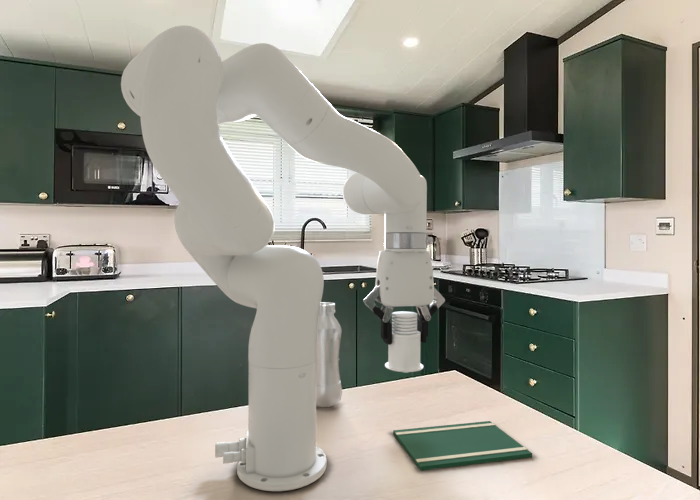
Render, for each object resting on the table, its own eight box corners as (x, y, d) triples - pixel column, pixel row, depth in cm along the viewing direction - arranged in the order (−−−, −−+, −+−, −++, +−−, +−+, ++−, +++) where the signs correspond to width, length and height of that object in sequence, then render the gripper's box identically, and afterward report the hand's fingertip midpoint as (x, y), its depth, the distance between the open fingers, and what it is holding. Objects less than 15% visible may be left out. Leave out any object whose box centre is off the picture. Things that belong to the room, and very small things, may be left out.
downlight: (426, 374, 77) (427, 317, 76) (386, 374, 77) (387, 317, 76) (420, 361, 85) (420, 310, 84) (383, 361, 85) (383, 309, 84)
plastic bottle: (338, 412, 83) (338, 306, 82) (303, 409, 84) (304, 305, 84) (345, 400, 89) (346, 301, 89) (313, 397, 90) (313, 300, 90)
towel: (420, 470, 62) (420, 465, 62) (393, 433, 74) (393, 429, 74) (532, 457, 66) (532, 452, 66) (489, 424, 78) (489, 420, 78)
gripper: (440, 243, 85) (439, 335, 86) (354, 242, 82) (353, 339, 82) (458, 243, 78) (457, 344, 79) (364, 243, 74) (364, 349, 75)
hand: (404, 341), depth 80 cm, fingers closed on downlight, 5 cm apart
